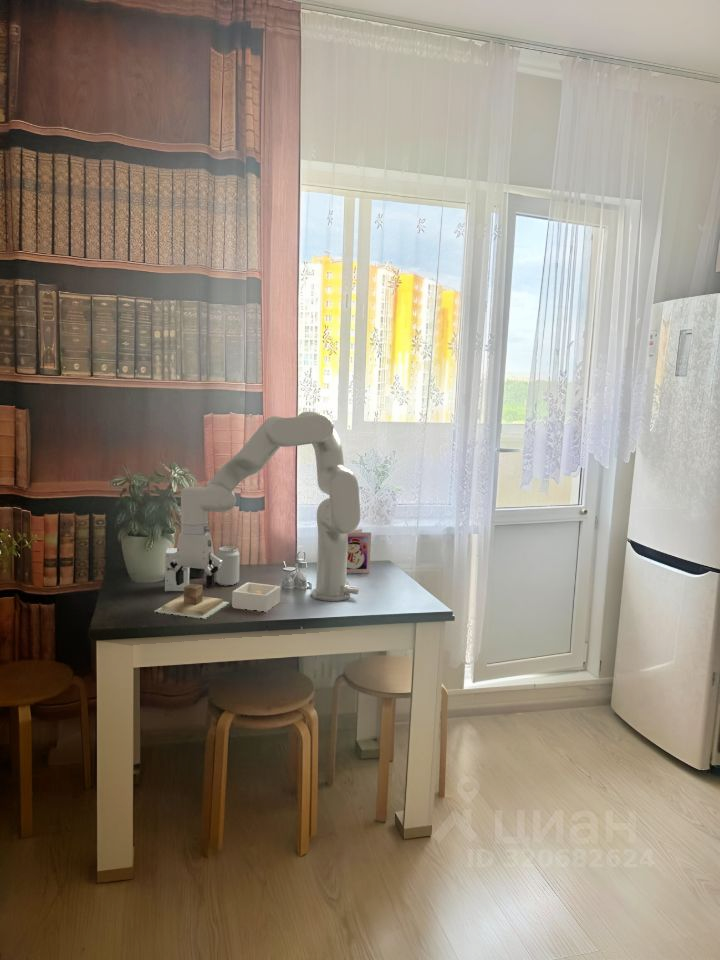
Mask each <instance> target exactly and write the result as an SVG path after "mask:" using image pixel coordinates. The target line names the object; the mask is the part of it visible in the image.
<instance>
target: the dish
mask: <svg viewBox="0 0 720 960" xmlns="http://www.w3.org/2000/svg"><path fill="white" fill-rule="evenodd" d="M281 587H282V586H281V585H272V584H266V583H257V582H251V581H250V582H249V581H247V582H246V583H244V584H242V585H240V586H239V587H237V588H236V589H234V590H232V595H231V608H232V607H233V608H232V609H239V610H245V609H247V610H246V611H253V610H257V611H256V612H261V611H264V612H263V613H267V612H269V611H270V610H272V609H273V608H274V607H275V606H277V605H278V604H279V603H280V602H281ZM253 591H260V592H261V593H262V594H257V593H252V592H253ZM276 604H277V605H276ZM273 606H274V607H273ZM272 607H273V608H272ZM268 610H269V611H268Z"/></svg>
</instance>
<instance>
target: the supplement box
mask: <svg viewBox="0 0 720 960" xmlns="http://www.w3.org/2000/svg"><path fill="white" fill-rule="evenodd" d="M165 551H166V552H165V561H164V563H165V566H164V567H165V570H164V592H184V587H185V586H187V585H189V584H190V578H189V569H190V567H183V568H182V570H183V571H184V583H182V584H180V585H176V572H174V569H173V568H172V567H171V565H170V562H169V560H168V558H167V556H169V555H171V554H173V553H175V552H177V547H172V548H171V547H167V548H166V550H165ZM174 560H175V561H176V562H177V556H176V557H175V558H174Z"/></svg>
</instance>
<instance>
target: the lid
mask: <svg viewBox="0 0 720 960" xmlns="http://www.w3.org/2000/svg"><path fill="white" fill-rule="evenodd" d="M203 588H204V586H203V584H198V583H189V585H187V586H185V587H184V591H183V594H181V595H180V596H178V597H176V598H174V599H173V600H170V601H168V602H166V603H165V604H163V605H162V606H161V607H162V610H165V611H173V612H180V613H188V614H195V615H205V614H206V613H208V612H209V611H211V610H213V609H214V608H216V607H217V606H219V605H220V604H222V603H223V601H224V599H223V598H217V597H216V598H215V597H210V596H203V592H204V591H203Z"/></svg>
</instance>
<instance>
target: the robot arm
mask: <svg viewBox="0 0 720 960" xmlns="http://www.w3.org/2000/svg"><path fill="white" fill-rule="evenodd" d="M334 427H335V425H334V422H333V420H332V419H331V417H330V416H328V415H327V414H325V413H322V412H316V411H303V412H301V413H300V414H298V415H297V416H294V417H293V416H292V417H282V416H276V415H275V416H270V417H268V418H266V419H265V420H264V421H263V423H262V424H260V426H259V427H258V428H257V430H256V431H255V432H254V433H253V435H252V436H250V438H249V440H248V441H246V443H245V444H244V445H243V447H242V448H241V449H240V450H239V451H238V452H237V453H236V454H235V455H234V456H233V457H231V458H230V459H229V460H228V461H227V462H226V463H224V465H222V466H221V467H220V469H219V470H217V472H216V473H215V474H214V476H213V477H212V478H211V479H210V481H208V482H207V485H206V486H205V487H204V486H198V485H197V486H196V485H195V486H194V485H193V486H192V485H191V486H186V487H183V488H182V489H181V493H180V511H181V512H180V521H181V522H180V528H181V532H179V535H178V540H177V545H176V548H177V552H175V553H173V554H171V555H169V556H167V558H168V560H169V562H170V565H171V567H172V568H173V569H174V572H176V585H180V584H182V583H184V571H183V570H182V568H183V567H191V568H201V569H205V573H207V575H205V578H206V579H205V580H206V581H205V582H206V583H205V585H206V587H205V588H206V589H207V590H208V589H211V588H213V587H214V584H215V573H216V571H217V570H219V568H220V566H221V564H222V562H223V561H222V560H221V559H219V558H218V557H217V555H215V554H214V545H213V540H212V539H213V538H212V535H211V533H210V532H211V531H212V529H213V527H212V526H210V525H209V523H208V522H209V520H208V519H209V518H208V514H209V513H208V512H215V513H226V512H229V511H231V510H232V509H233V508H234V507H235V505H236V502H237V498H236V494H235V492H234V490H235V489H236V488H237V486H238V485H239V484H240V483H241V482H242V481H243V480H245V479H246V478H249V477H250V476H253V475H255V474H257V473H259V472H261V471H262V470H263V469H264V468H265V466H266V465H267V464H268V463H269V461H270V460H271V459H272V458H273V456H274V455H275V454H276V453H277V451H278V450H279V449H280V448H281V447H283V448H285V447H286V448H288V447H297V446H298V447H299V446H304V445H312V447H313V449H314V454H315V455H314V456H315V462H316V477H317V478H316V479H317V485H318V488H319V490H320V491H321V492H322V493H324V494H326V495H327V496H329V497H328V498H325V499H324V500H323V501H321V502H320V503H319V505H318V508H317V510H316V525H317V553H316V554H317V560H316V582H315V583H316V584H315V588H314V589H312V590H311V592H310V595H311V597H312V598H314V599H316V600H320V601H326V602H339V601H344V600H348V599H349V598H351V594H352V595H358V594H359V588H358V587H357V586H352V585H350V584H349V581H348V580H347V574H348V573H347V550H348V535H347V534H349V533H351V532H353V531H354V530H357V528H358V526H359V524H360V521H361V504H360V503H361V502H360V489H359V482H358V478H357V477H356V475H355V473H353V471H351V469H349V468H346V467H345V462H344V454H343V446H342V441H341V439H340V437H339V435H338V432H337V431H336V430H335V428H334ZM176 556H177V562H176V561H175V560H174V558H175V557H176ZM213 564H215V565H214V566H213Z"/></svg>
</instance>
